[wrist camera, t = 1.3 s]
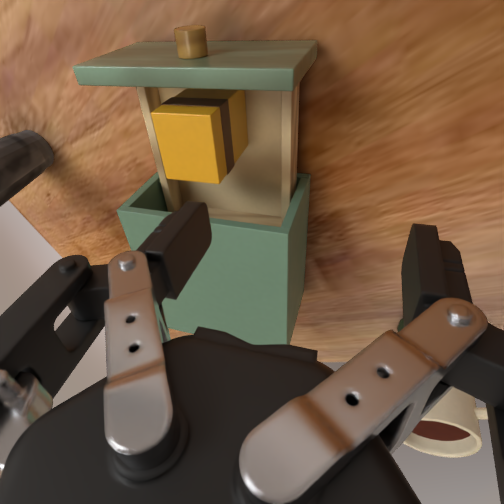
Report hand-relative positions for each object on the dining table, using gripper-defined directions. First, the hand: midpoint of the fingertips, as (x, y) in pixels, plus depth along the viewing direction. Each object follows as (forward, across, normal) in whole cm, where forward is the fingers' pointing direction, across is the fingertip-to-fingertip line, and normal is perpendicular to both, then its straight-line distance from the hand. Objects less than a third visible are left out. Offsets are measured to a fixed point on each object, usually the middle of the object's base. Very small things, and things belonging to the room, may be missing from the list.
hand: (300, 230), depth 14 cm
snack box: (+17, +10, +1) cm, 19 cm away
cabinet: (+19, +10, +15) cm, 26 cm away
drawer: (+18, +10, +3) cm, 21 cm away
